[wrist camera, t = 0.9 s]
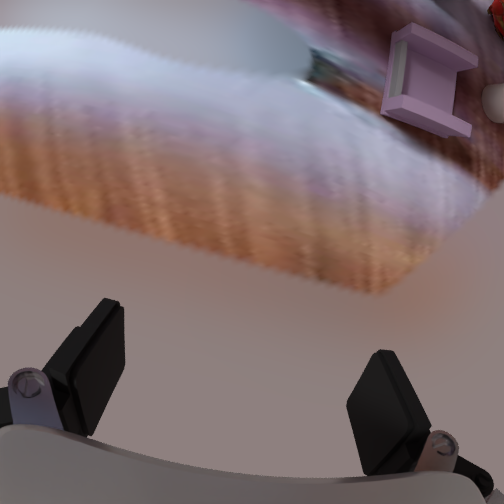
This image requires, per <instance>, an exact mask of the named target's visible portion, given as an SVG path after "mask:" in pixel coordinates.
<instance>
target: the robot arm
mask: <svg viewBox="0 0 504 504" xmlns="http://www.w3.org/2000/svg"><path fill="white" fill-rule="evenodd" d="M124 344H125V341H124V307H122V306H120V303H119V302H118V301H115V300H111V299H108V298H104V299H103V300H102V301H101V302H100V303H99V304H98V306H97V307H96V308H95V309H94V310H93V312H92V313H91V314H90V315H89V317H88V318H87V319H86V320H85V322H84V323H83V324H82V325H81V327H79V326H77V327H75V328H74V329H73V330H72V332H71V333H70V334H69V336H68V337H67V338H66V339H65V341H64V342H63V343H62V344H61V346H60V347H59V348H58V350H57V351H56V352H55V354H54V355H53V356H52V357H51V359H50V360H49V361H48V363H47V364H46V365H45V367H44V368H43V369H42V371H40V370H38V369H35V368H23V369H19V370H17V371H16V372H14V373H13V374H12V375H11V376H10V378H9V381H8V387H4V388H0V504H504V495H503V494H502V493H501V492H500V491H499V490H498V489H497V488H496V489H495V490H493V487H494V483H493V479H492V477H491V476H490V474H489V473H488V472H486V471H485V470H484V469H482V468H480V467H478V466H476V465H474V464H473V463H471V462H469V461H467V460H466V459H464V458H462V457H460V456H459V455H458V451H459V446H458V443H457V441H456V440H455V438H454V437H453V436H452V435H451V434H449V433H448V432H445V431H442V430H436V431H433V432H432V433H431V432H430V430H429V429H430V427H431V423H430V421H429V419H428V417H427V415H426V413H425V411H424V409H423V407H422V405H421V403H420V401H419V399H418V397H417V395H416V393H415V391H414V389H413V387H412V385H411V383H410V381H409V379H408V377H407V375H406V373H405V371H404V369H403V367H402V366H401V364H400V362H399V360H398V358H397V356H396V354H395V353H394V351H391V350H381V349H380V350H378V351H377V352H376V353H374V354H373V355H372V356H371V358H370V360H369V362H368V364H367V366H366V368H365V370H364V372H363V374H362V375H361V377H360V379H359V381H358V382H357V384H356V386H355V388H354V390H353V391H352V393H351V395H350V396H349V398H348V400H347V405H346V407H347V411H348V415H349V419H350V422H351V426H352V430H353V434H354V438H355V441H356V445H357V449H358V453H359V457H360V461H361V465H362V469H363V472H364V474H365V475H367V476H363V477H345V478H292V477H274V476H259V475H250V474H241V473H233V472H225V471H218V470H212V469H206V468H200V467H194V466H190V465H184V464H180V463H175V462H170V461H166V460H162V459H158V458H154V457H150V456H146V455H142V454H138V453H135V452H131V451H128V450H124V449H121V448H117V447H114V446H111V445H107V444H105V443H102V442H99V441H96V440H93V439H89V438H87V436H88V435H89V436H92V435H93V433H94V431H95V429H96V427H97V425H98V423H99V420H100V418H101V416H102V414H103V412H104V410H105V407H106V405H107V403H108V401H109V399H110V397H111V395H112V393H113V391H114V389H115V387H116V384H117V382H118V380H119V378H120V376H121V374H122V372H123V370H124V366H125V345H124Z"/></svg>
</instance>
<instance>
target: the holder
mask: <svg viewBox="0 0 504 504" xmlns="http://www.w3.org/2000/svg"><path fill="white" fill-rule="evenodd" d="M477 67H478V56H476V55H475V54H473V53H471V52H470V51H468V50H466V49H464V48H463V47H461V46H459V45H457V44H456V43H454V42H452V41H450V40H448V39H446V38H445V37H443V36H441V35H439V34H437V33H435V32H433V31H431V30H429V29H427V28H424V27H422V26H420V25H418V24H416V23H414V22H411V23H410V24H408V25H407V26H405V27H403V28H402V29H400V30H399V31H396V30H395V31H394V32H393V33H392V37H391V46H390V54H389V62H388V69H387V76H386V82H385V89H384V95H383V101H382V107H381V112H380V114H382V115H385V116H387V117H390V118H393V119H396V120H399V121H402V122H404V123H407V124H410V125H413V126H415V127H418V128H420V129H423V130H425V131H428V132H430V133H433V134H435V135H438V136H440V137H442V138H448V136H461V137H470V134H471V128H472V125H471V124H469V123H467V122H465V121H463V120H461V119H459V118H457V117H455V116H453V115H452V110H453V103H454V95H455V86H456V76H457V72H459V71H463V70H468V69H473V68H477Z"/></svg>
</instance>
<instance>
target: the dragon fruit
mask: <svg viewBox="0 0 504 504" xmlns="http://www.w3.org/2000/svg"><path fill="white" fill-rule="evenodd" d="M487 12H488V14H490V15H492V14H493V18H494V24H495V28H496V32H497V33H498V35H499V36H500V38H501V39H502V40H503V41H504V38H503V37H504V0H494V2H493V3H492V5H491V6H490V7H489V9H488V10H487Z"/></svg>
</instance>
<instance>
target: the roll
mask: <svg viewBox="0 0 504 504" xmlns="http://www.w3.org/2000/svg"><path fill="white" fill-rule="evenodd" d="M481 100H482V106H483V109H484V112H485V114H486V115H487V117H488V118H489V119H490V120H491V121H493V122H495V123H504V83H502V84H492V85H487V86H486V87H485V88H484V89H483V91H482V97H481Z"/></svg>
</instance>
